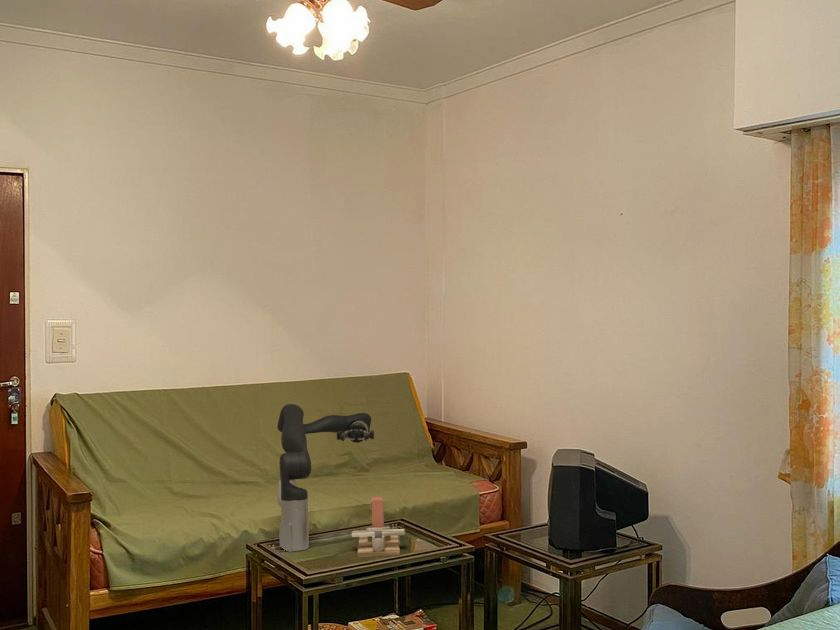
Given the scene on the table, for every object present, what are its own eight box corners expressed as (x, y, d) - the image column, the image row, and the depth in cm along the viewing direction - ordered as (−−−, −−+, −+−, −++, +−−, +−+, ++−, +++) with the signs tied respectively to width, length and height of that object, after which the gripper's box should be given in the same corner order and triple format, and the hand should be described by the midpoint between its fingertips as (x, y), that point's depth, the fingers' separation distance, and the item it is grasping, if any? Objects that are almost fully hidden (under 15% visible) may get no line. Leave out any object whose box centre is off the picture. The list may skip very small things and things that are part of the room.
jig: (405, 555, 282) (405, 534, 282) (351, 557, 281) (350, 536, 281) (403, 536, 310) (403, 517, 310) (354, 538, 309) (353, 519, 309)
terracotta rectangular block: (384, 539, 300) (382, 500, 300) (372, 540, 300) (371, 500, 300) (384, 535, 307) (382, 496, 307) (372, 536, 307) (371, 497, 307)
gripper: (339, 422, 336) (334, 428, 319) (375, 421, 335) (372, 427, 319) (340, 441, 336) (335, 448, 319) (376, 440, 335) (373, 447, 319)
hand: (354, 438), depth 319 cm, fingers open, 8 cm apart
